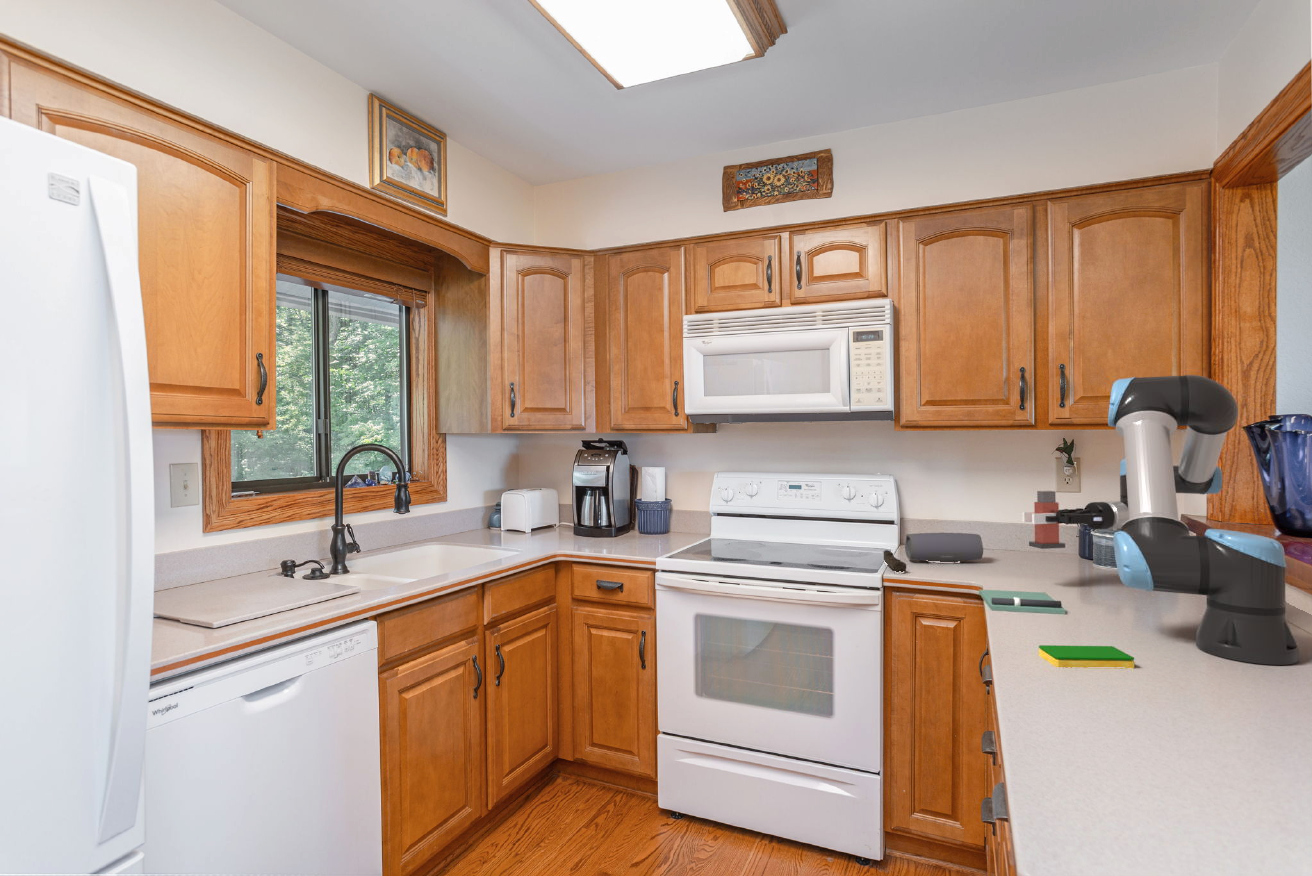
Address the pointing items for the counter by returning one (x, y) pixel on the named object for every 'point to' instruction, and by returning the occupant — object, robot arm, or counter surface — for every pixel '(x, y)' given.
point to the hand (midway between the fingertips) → (1028, 518)
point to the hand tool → (894, 562)
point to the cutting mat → (1019, 595)
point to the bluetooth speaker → (944, 546)
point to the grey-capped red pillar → (1046, 532)
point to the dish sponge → (1085, 656)
